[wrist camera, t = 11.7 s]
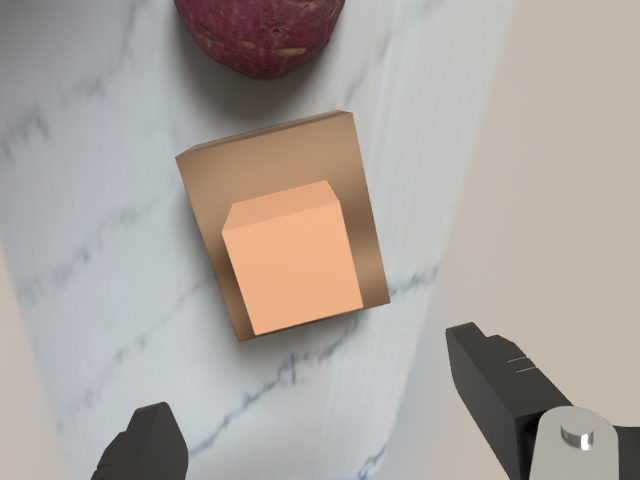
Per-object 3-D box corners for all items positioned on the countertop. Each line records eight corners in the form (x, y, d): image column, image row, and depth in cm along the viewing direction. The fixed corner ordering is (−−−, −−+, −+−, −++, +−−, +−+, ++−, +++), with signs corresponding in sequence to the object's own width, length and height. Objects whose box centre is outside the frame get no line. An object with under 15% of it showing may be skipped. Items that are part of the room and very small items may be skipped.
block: (232, 203, 25) (221, 232, 19) (326, 179, 25) (339, 201, 20) (259, 288, 26) (255, 335, 21) (346, 266, 27) (363, 307, 21)
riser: (194, 145, 29) (174, 157, 24) (337, 109, 29) (352, 113, 24) (245, 300, 33) (238, 342, 27) (371, 267, 33) (390, 302, 28)
